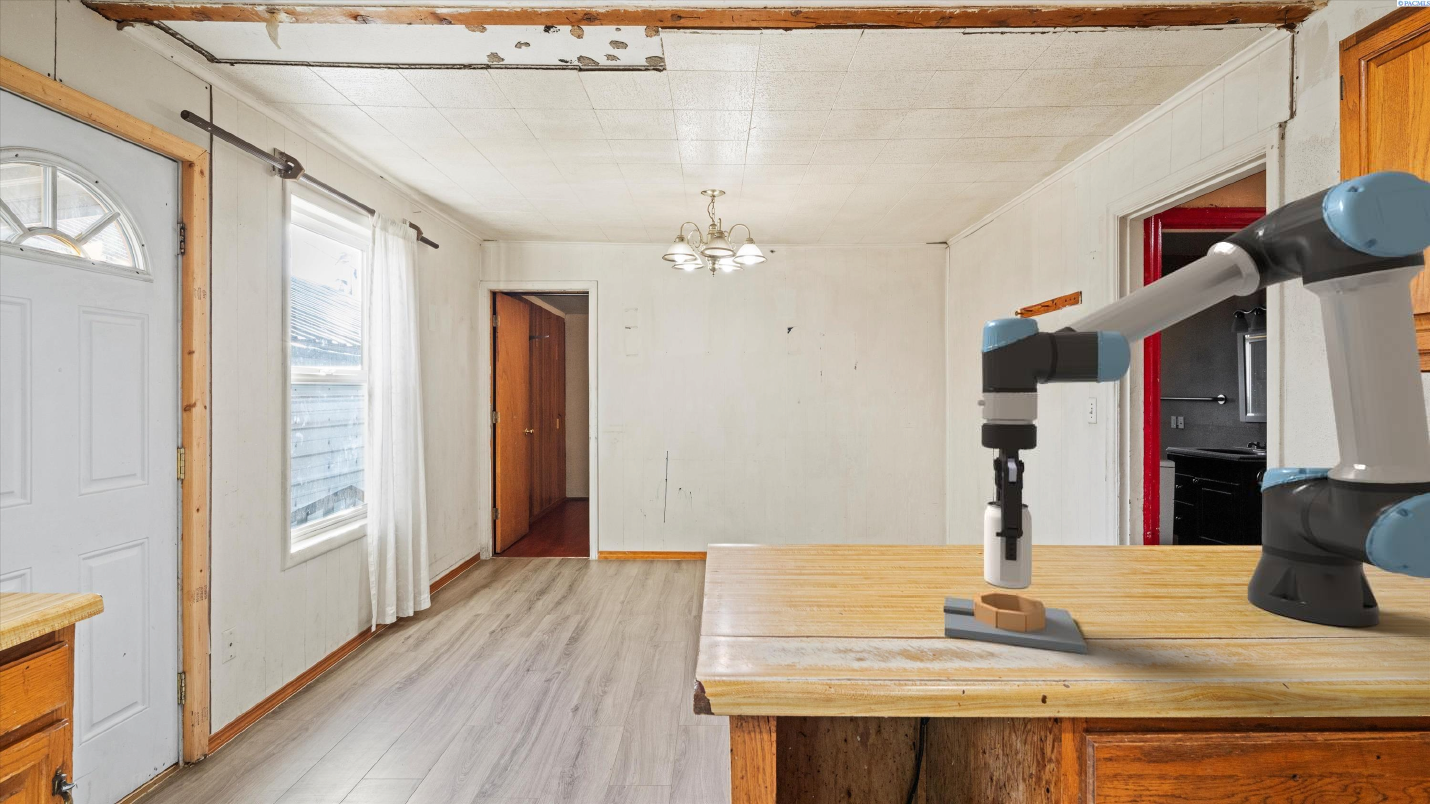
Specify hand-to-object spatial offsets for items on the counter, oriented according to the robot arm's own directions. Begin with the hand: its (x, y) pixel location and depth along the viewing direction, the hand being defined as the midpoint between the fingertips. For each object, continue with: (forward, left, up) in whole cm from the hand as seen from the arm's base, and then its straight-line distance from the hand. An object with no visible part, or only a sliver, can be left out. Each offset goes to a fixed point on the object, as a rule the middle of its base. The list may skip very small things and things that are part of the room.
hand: (1007, 573), depth 92 cm
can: (0, 0, -2) cm, 2 cm away
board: (0, 0, -8) cm, 8 cm away
